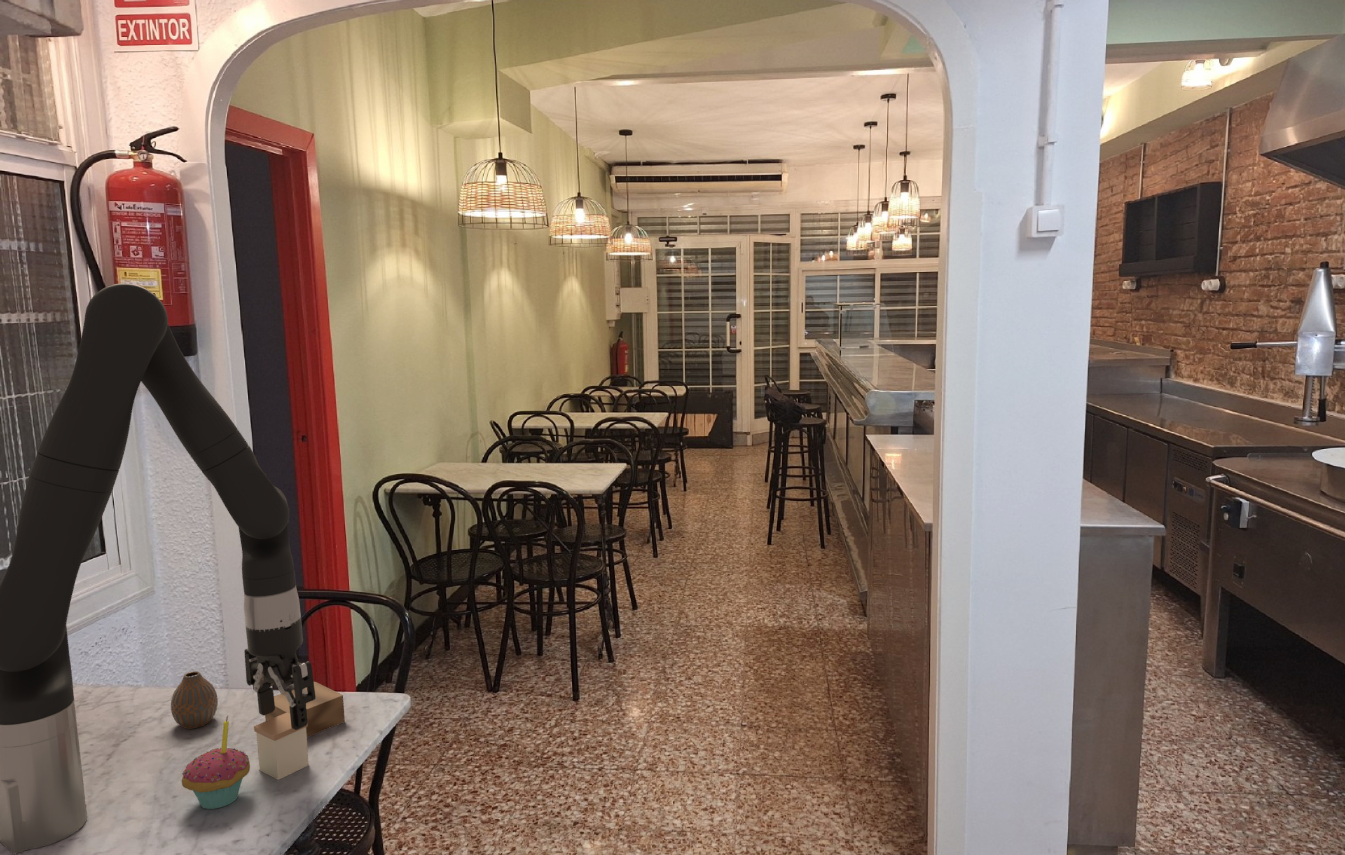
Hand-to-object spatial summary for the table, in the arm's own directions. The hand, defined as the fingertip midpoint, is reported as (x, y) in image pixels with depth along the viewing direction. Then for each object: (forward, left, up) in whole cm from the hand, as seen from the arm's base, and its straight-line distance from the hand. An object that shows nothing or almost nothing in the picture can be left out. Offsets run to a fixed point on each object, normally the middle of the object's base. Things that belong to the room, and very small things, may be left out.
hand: (283, 720), depth 131 cm
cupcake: (-11, -1, -8) cm, 13 cm away
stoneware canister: (0, 0, -8) cm, 8 cm away
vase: (0, +26, -8) cm, 27 cm away
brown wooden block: (+10, +10, -8) cm, 16 cm away
